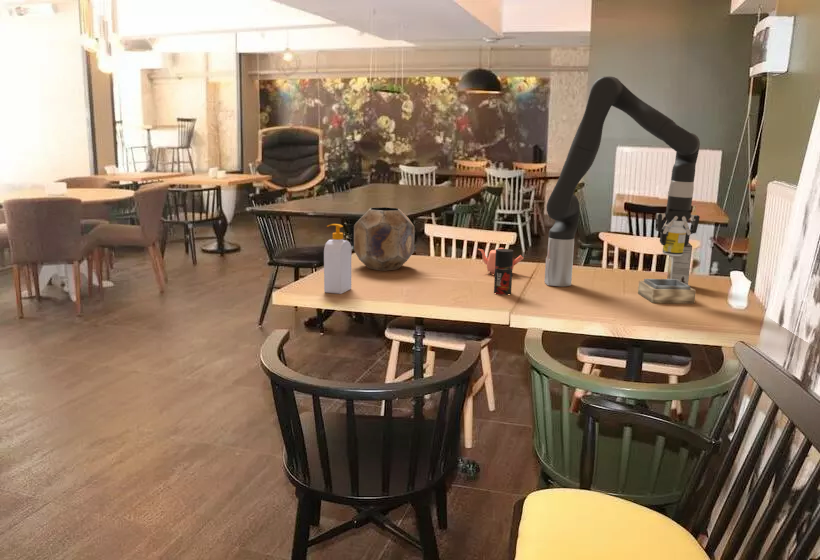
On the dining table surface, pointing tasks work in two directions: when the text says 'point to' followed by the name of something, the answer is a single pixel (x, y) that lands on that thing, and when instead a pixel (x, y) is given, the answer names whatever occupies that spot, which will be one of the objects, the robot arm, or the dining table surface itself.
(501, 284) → the deodorant
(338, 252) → the soap bottle
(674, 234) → the pill bottle
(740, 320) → the dining table surface
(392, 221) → the planter
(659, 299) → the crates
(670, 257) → the coffee box
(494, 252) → the teapot
